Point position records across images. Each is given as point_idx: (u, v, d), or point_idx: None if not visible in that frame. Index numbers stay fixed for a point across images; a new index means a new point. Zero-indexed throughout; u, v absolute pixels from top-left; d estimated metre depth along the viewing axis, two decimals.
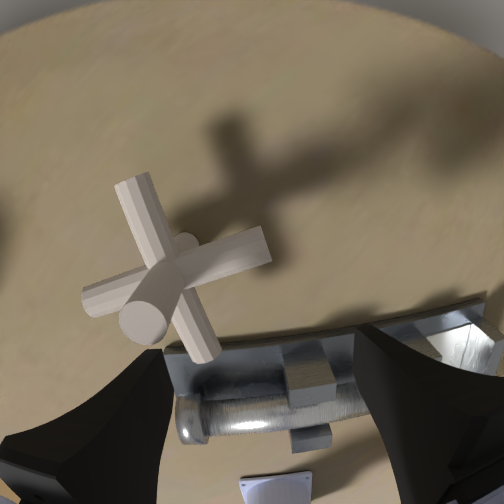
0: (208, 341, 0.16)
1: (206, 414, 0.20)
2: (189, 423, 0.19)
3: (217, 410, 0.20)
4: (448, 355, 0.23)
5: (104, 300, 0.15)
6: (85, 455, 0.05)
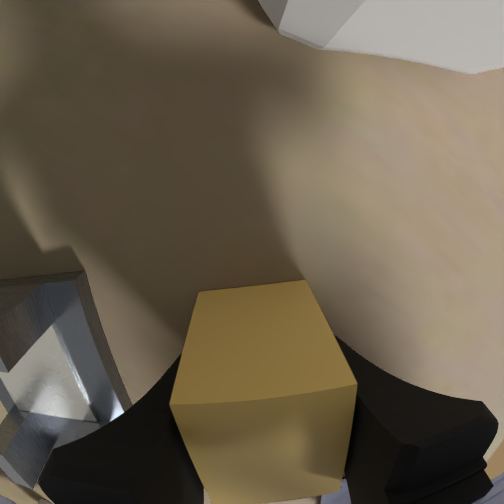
0: None
1: None
2: None
3: None
4: (22, 358, 0.11)
5: None
6: (152, 463, 0.05)
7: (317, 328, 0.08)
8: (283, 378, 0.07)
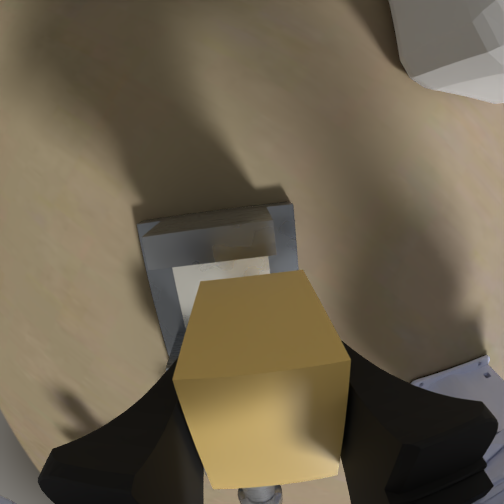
0: None
1: (246, 497, 0.22)
2: None
3: (243, 491, 0.22)
4: (221, 273, 0.18)
5: None
6: (152, 462, 0.05)
7: (313, 312, 0.09)
8: (280, 355, 0.07)
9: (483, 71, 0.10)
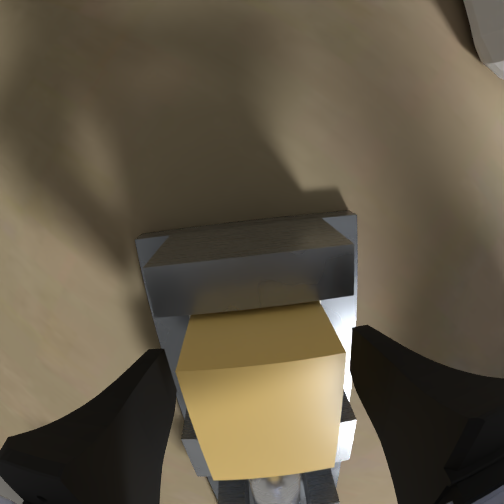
0: None
1: None
2: None
3: None
4: None
5: None
6: (89, 456, 0.05)
7: (310, 307, 0.09)
8: (278, 348, 0.07)
9: None
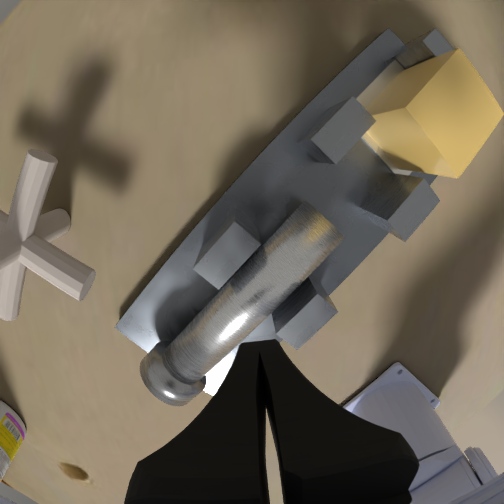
0: (68, 270, 0.14)
1: (167, 357, 0.17)
2: (153, 376, 0.17)
3: (173, 346, 0.17)
4: None
5: None
6: (258, 461, 0.05)
7: None
8: None
9: None
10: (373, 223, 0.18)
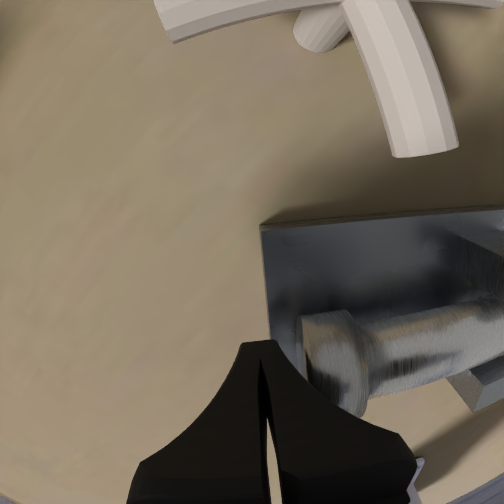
0: (447, 102, 0.06)
1: (371, 346, 0.09)
2: (346, 368, 0.08)
3: (390, 334, 0.09)
4: None
5: None
6: (260, 461, 0.05)
7: None
8: None
9: None
10: None
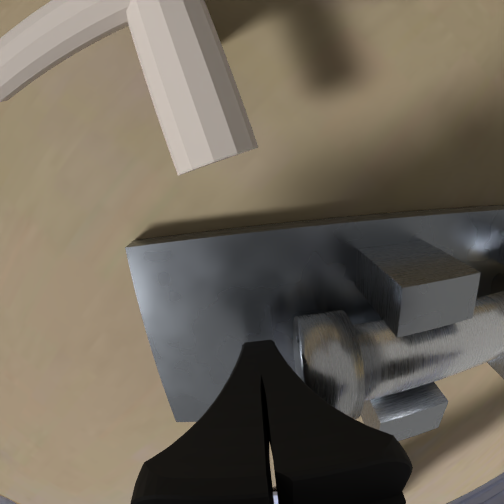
0: (228, 100, 0.06)
1: (367, 347, 0.09)
2: (342, 369, 0.08)
3: (387, 335, 0.09)
4: None
5: (13, 36, 0.04)
6: None
7: None
8: None
9: None
10: None
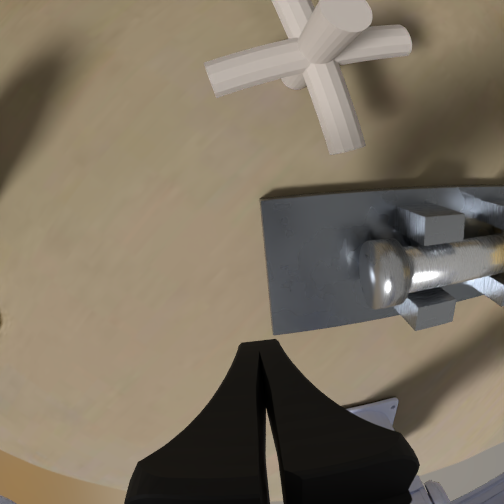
0: (357, 123, 0.13)
1: (407, 255, 0.16)
2: (397, 262, 0.16)
3: (416, 250, 0.17)
4: None
5: (240, 63, 0.12)
6: (258, 461, 0.05)
7: None
8: None
9: None
10: (473, 284, 0.21)
